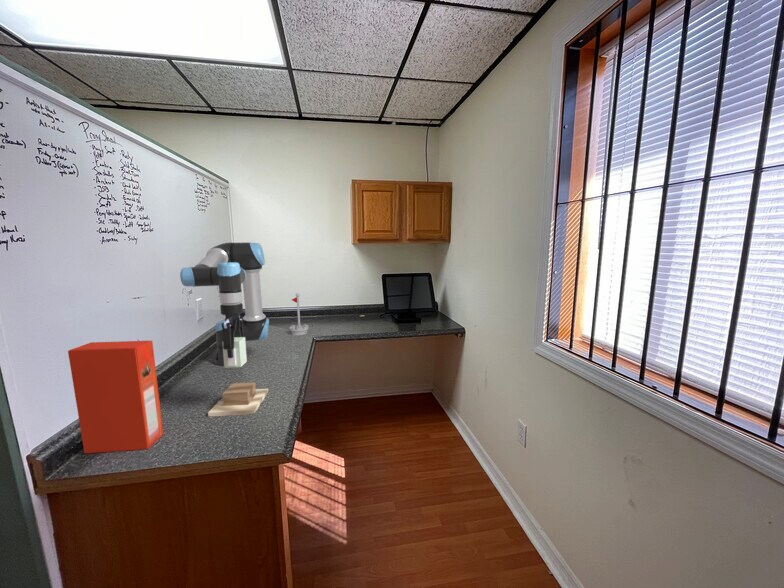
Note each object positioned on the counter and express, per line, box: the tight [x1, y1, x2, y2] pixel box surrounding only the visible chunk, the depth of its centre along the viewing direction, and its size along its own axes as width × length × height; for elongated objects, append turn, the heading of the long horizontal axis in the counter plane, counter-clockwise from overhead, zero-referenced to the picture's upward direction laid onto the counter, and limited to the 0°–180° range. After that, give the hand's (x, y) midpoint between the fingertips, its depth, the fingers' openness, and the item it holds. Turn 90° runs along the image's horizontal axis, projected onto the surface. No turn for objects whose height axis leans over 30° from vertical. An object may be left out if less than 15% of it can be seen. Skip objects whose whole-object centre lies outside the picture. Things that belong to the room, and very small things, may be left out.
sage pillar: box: [222, 337, 248, 369], centre depth 117 cm, size 6×6×10 cm
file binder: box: [67, 340, 164, 455], centre depth 93 cm, size 8×17×32 cm, turn 97°
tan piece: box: [207, 381, 269, 417], centre depth 120 cm, size 18×16×6 cm
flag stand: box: [289, 292, 309, 336], centre depth 223 cm, size 13×13×30 cm
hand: (235, 362), depth 118 cm, fingers closed on sage pillar, 6 cm apart
